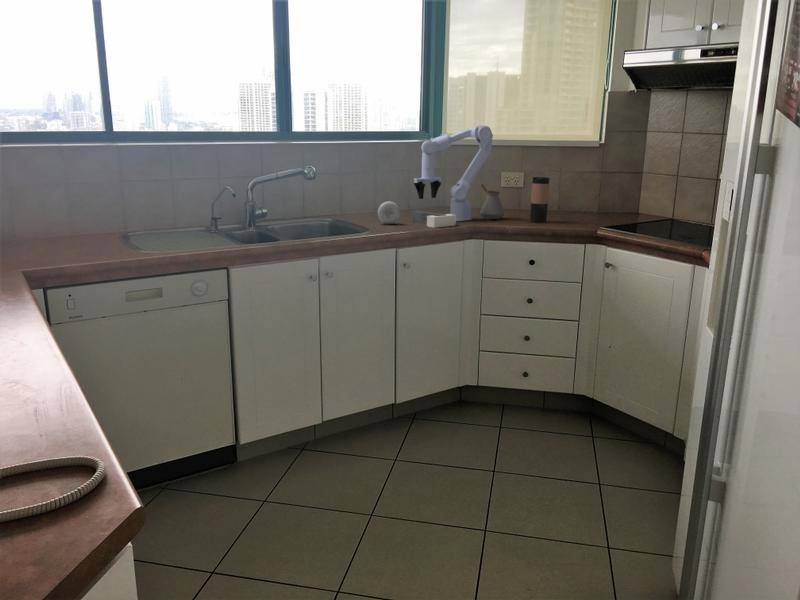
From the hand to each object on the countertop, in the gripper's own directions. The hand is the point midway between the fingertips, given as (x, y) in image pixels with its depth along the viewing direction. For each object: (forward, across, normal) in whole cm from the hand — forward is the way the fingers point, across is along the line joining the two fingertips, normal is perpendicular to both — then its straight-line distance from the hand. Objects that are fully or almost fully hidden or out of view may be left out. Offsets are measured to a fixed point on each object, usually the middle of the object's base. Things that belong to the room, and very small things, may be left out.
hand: (427, 198), depth 305 cm
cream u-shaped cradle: (+10, +7, +17) cm, 21 cm away
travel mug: (+10, -39, +33) cm, 52 cm away
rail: (+10, +7, +9) cm, 15 cm away
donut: (+10, +23, +1) cm, 25 cm away
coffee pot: (+10, -31, +9) cm, 34 cm away
